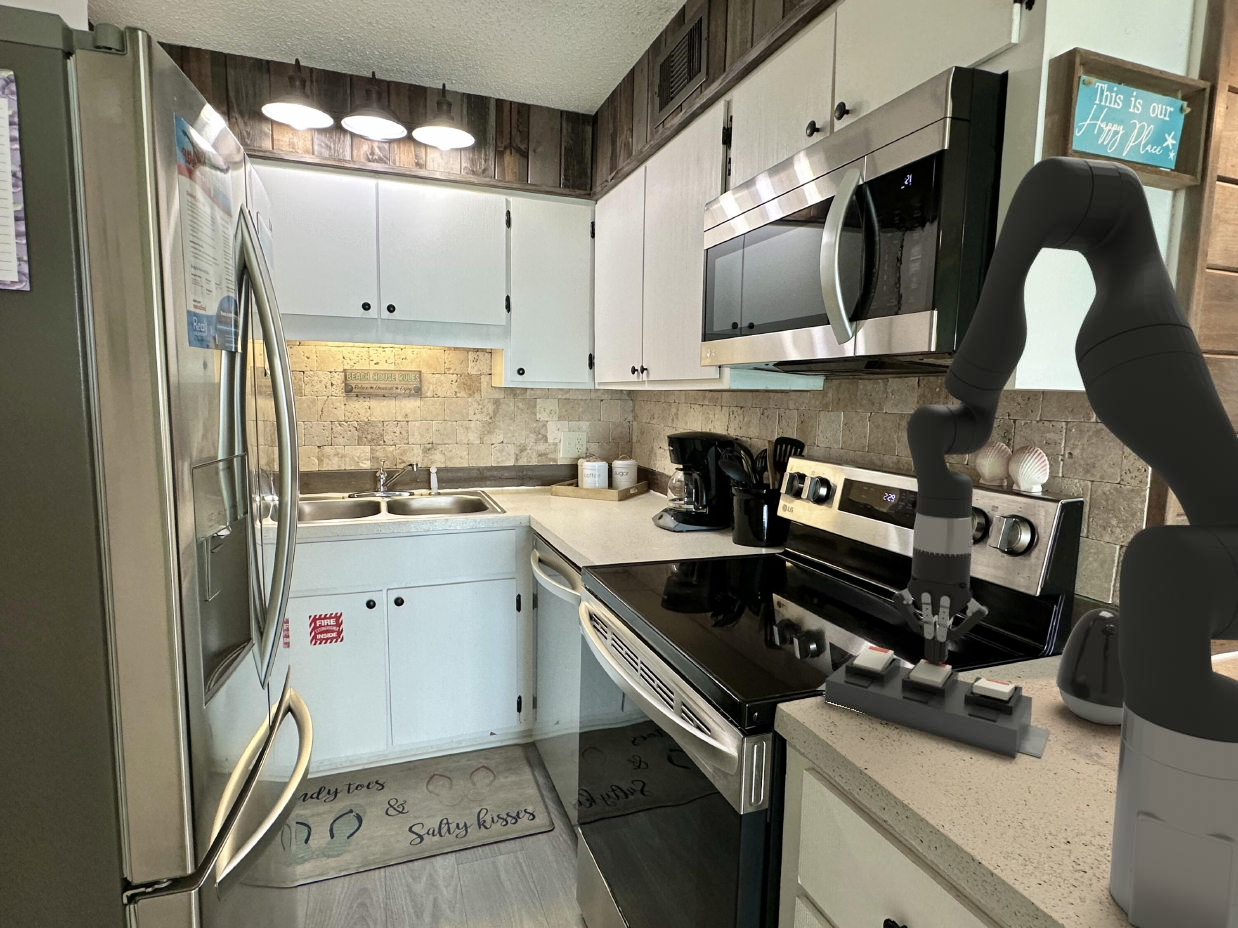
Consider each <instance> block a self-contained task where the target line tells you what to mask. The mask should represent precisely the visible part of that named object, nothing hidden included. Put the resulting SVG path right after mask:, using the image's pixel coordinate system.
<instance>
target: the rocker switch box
mask: <svg viewBox="0 0 1238 928" xmlns="http://www.w3.org/2000/svg"><path fill="white" fill-rule="evenodd" d="M859 654H860V653H858V654H856V655H855V654H854V656H853V657H851V658H850V659H849V660H848V661H847V662H844V664H843V665H842V666H840V667H839V668H838V669H836V670H835V671H834V672H833V673H832V674H830V675H829V676H828V677H827V678H825V682H824V683H823V684H821V685H820V686H819V687H817V688H816V690H825V692H823V694H825V697H824V702H825V701H827V702H831V703H834V704H837V705H841V706H844V707H847V708H850V709H854V710H856V711H859V712H862V713H865V714H868V715H867V716H869V715H871V716H870V717H872V716H874V717H873V718H876V719H878V720H879V719H880V720H883V721H887V722H890V723H894V724H897V725H901V726H903V727H906V728H910V729H914V730H916V731H921V732H924V733H928V734H932V735H935V736H938V737H942V738H945V739H948V740H953V741H955V742H958V743H962V744H965V745H969V746H972V747H977V748H979V749H983V750H986V751H990V752H994V753H997V754H1000V755H1003V756H1007V757H1011V758H1015V759H1016V758H1017V756H1018V753H1021V754H1024V755H1025V754H1026V755H1030V756H1033V757H1037V758H1042V755H1043V752H1044V750H1045V747H1046V744H1047V742H1048V738H1049V735H1050V733H1051V732H1050V730H1049V729H1045V728H1042V727H1038V726H1034V725H1030V724H1031V723H1032V707H1033V697H1031V696H1028V695H1024V694H1023V690H1024V689H1023V686H1018V685H1015V692H1014V694H1013V695H1012V696H1011V697H1010V698H1009V699H1008V700H1004V699H1000V698H996V697H992V696H988V695H984V694H979V693H975V692H973V684H974V683H976V682H977V681H979V680H980V679H982V678H983V677H980V676H976V677H975V679H974V680H973V682H969V681H964V680H960V679H959V672H958V671H954V670H951V674H950V675H949V677H948V678H947V680H946V681H945V683H944V684H943V686H942V687H938V686H934V685H930V684H926V683H922V682H918V681H914V680H910V674H911V672H912V671H913V670H914V669H915V667H916V666H917V665H918V664H919V662H917V663H916V664H915V665H914V666H913V667H912V668H910V667H906V666H902V665H901V661H902V660H901V658H899V657H895V656H894V657H893V659H892V660H891V662H890V663H889V665H888V666H887V667H886V669H885V670H884V671H883V672H878V671H874V670H870V669H866V668H862V667H858V666H854V665H853V662H854V661H855V659H856V658H857V657H858V656H859ZM862 713H861V714H862ZM865 714H864V715H865Z"/></svg>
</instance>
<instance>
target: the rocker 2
mask: <svg viewBox="0 0 1238 928" xmlns="http://www.w3.org/2000/svg"><path fill="white" fill-rule="evenodd" d="M981 678H982V679H980V680H979V681H977V682H976V683H974V684H973V692H975V693H979V694H984V695H988V696H992V697H996V698H1000V699H1004V700H1008V699H1009V698H1010V697H1011V696H1012V695H1013V694H1014V692H1015V686H1016V685H1014V684H1011V683H1009V682H1008V683H1007V682H1004V681H1003V682H1002V681H999V680H995V679H991V678H984V677H981Z"/></svg>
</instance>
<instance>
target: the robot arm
mask: <svg viewBox="0 0 1238 928" xmlns="http://www.w3.org/2000/svg"><path fill="white" fill-rule="evenodd" d="M1155 230H1156V229H1155V226H1154V222H1153V217H1152V214H1151V209H1150V205H1149V201H1148V198H1147V194H1146V191H1145V188H1144V185H1143V183H1142V181H1141V179H1140V177H1139V175H1138V174H1137V173H1136V172H1135V171H1134V169H1133V168H1131V167H1129V166H1127V165H1124V164H1123V163H1119V162H1116V161H1109V160H1099V159H1091V158H1079V157H1070V156H1049V157H1046V158H1043V159H1041V160H1040V161H1037V162H1036V163H1035V164H1034V165H1032V166H1031V167H1030V168H1029V170H1028V171H1027V172H1026V173H1025V174H1024V176H1023V177H1022V179H1021V180H1020V183H1019V184H1018V186H1017V188H1016V189H1015V191H1014V194H1013V196H1012V198H1011V200H1010V203H1009V206H1008V209H1007V212H1006V214H1005V218H1004V220H1003V222H1002V226H1001V228H1000V232H999V235H998V238H997V242H996V245H995V248H994V251H993V254H992V257H991V260H990V263H989V267H988V270H987V274H986V276H985V280H984V283H983V287H982V290H981V294H980V297H979V300H978V303H977V306H976V308H975V311H974V314H973V316H972V320H971V322H970V324H969V326H968V329H967V331H966V333H965V336H964V337H963V339H962V341H961V343H960V345H959V347H958V349H957V351H956V353H955V355H954V357H953V359H952V361H951V363H950V365H949V366H948V369H947V371H946V374H945V377H944V379H943V380H944V381H943V385H944V388H945V390H946V392H947V393H948V394H949V395H950V396H951V397H953V398H954V399H955V400H958V401H960V402H959V404H926V405H921V406H919V407H917V408H916V409H915V410H914V411H913V412H912V414H911V415H910V417H909V419H908V421H907V422H908V423H907V428H906V438H907V444H908V447H909V452H910V456H911V459H912V463H913V468H914V469H913V470H914V474H915V477H916V483H917V484H916V485H917V491H916V492H917V499H916V516H915V521H914V526H913V537H912V539H913V540H912V542H913V543H912V555H911V556H912V560H911V561H912V562H911V577H910V580H909V582H908V583H907V586H906V587H907V588H905V589H903V590H900V591H899V590H898V591H897V592H896V593H894V594H893V595H892V596H891V600H892V602H893V603H894V605H895V606H896V608H897V609H898V610H899V612H900V614H901V615H902V616H903V618H904V620H905V621H906V622H907V624H908V625H909V627H910V628H911V630H912V631H913V632H915V633H919V634H921V635H922V636H923V637H924V648H923V649H924V652H923V653H924V654H923V655H924V660H928V663H929V664H933V665H937V666H940V664H945V662H946V660H948V657H949V642H950V641H952V640H953V641H959V640H960V639H961V638H962V637H963V636H964V635H966V634H967V633H968V632H969V631H970V630H971V629H972V628H974V627H975V626H976V625H977V624H978V623H980V622H981V621H982V620H983V619H984V618H985V617H986V616H987V614H989V608H988V606H985V605H981V604H980V603H979V602H977V601H976V599H974V592H973V590H972V589H971V585H970V584H971V582H970V581H971V563H972V549H973V546H974V545H973V544H974V540H973V525H972V512H973V511H972V510H973V495H974V493H973V492H974V485H973V484H974V483H973V480H972V479H971V477H970V476H969V475H967V474H965V473H962V472H958V471H953V470H950V469H949V467H948V465H947V461H946V457H945V456H951V455H952V456H955V455H956V456H958V455H959V456H960V455H961V456H964V455H972V454H975V453H977V452H978V451H980V450H982V448H984V447H985V445H987V444H988V442H989V440H990V439H991V437H992V434H993V431H994V425H995V420H996V415H997V411H998V409H999V403H1000V398H1001V394H1002V391H1003V390H1004V388H1005V387H1006V385H1007V383H1008V381H1009V379H1010V378H1011V376H1012V375H1013V373H1014V371H1015V369H1016V367H1017V366H1018V364H1019V362H1020V360H1021V358H1022V356H1023V354H1024V351H1025V348H1026V344H1027V338H1028V337H1027V336H1028V324H1027V323H1028V322H1027V315H1026V314H1027V313H1026V306H1025V288H1026V287H1025V285H1026V281H1027V277H1028V275H1029V272H1030V269H1031V267H1032V266H1033V264H1034V262H1035V260H1036V259H1037V257H1038V255H1039V254H1040V252H1041V251H1042V250H1043V249H1054V250H1063V251H1074V252H1078V253H1079V254H1080V255H1082V256H1083V257H1084V259H1085V260H1086V262H1087V264H1088V266H1089V268H1090V271H1091V274H1092V277H1093V283H1094V284H1095V286H1094V287H1095V295H1094V298H1093V300H1092V302H1091V304H1090V306H1089V308H1088V310H1087V313H1086V314H1085V317H1084V319H1083V321H1082V323H1081V325H1080V328H1079V330H1078V333H1077V337H1076V339H1075V344H1074V354H1075V362H1076V365H1077V369H1078V372H1079V375H1080V378H1081V381H1082V384H1083V388H1084V390H1085V393H1086V396H1087V400H1088V401H1089V404H1090V407H1091V409H1092V411H1093V413H1094V414H1095V416H1096V417H1097V419H1098V420H1099V421H1100V422H1101V424H1102V425H1103V426H1104V427H1105V428H1106V429H1107V430H1109V432H1110V433H1111V434H1112V435H1113V436H1115V437H1116V438H1117V439H1118V440H1119V441H1120V442H1121V443H1122V444H1123V445H1124V446H1125V447H1127V448H1128V449H1129V450H1130V451H1131V452H1133V454H1134V455H1136V456H1137V457H1138V458H1139V459H1141V461H1143V463H1145V464H1146V465H1148V466H1149V467H1150V468H1151V469H1152V470H1153V471H1154V472H1155V473H1156V474H1157V475H1158V476H1160V478H1161V479H1162V480H1163V481H1164V482H1165V484H1166V485H1167V486H1168V487H1169V489H1170V490H1171V492H1172V493H1173V495H1174V496H1175V497H1176V499H1177V501H1178V503H1179V504H1180V507H1181V509H1182V511H1183V513H1184V515H1185V517H1186V519H1187V522H1188V524H1158V525H1150V526H1146V527H1145V528H1142V529H1140V530H1138V532H1136V533H1135V534H1134V535H1133V536H1132V537H1131V539H1130V540H1129V541H1128V544H1127V545H1126V547H1125V550H1124V552H1123V555H1122V560H1121V563H1120V569H1119V570H1120V572H1119V583H1118V584H1119V585H1118V613H1119V645H1118V654H1119V664H1120V669H1121V673H1122V677H1123V682H1124V701H1123V713H1122V724H1121V727H1120V738H1119V748H1118V749H1119V752H1118V763H1117V765H1118V766H1117V776H1116V789H1115V790H1116V791H1115V802H1114V803H1115V804H1114V814H1113V815H1114V816H1113V817H1114V818H1113V828H1112V839H1111V841H1112V842H1111V844H1112V845H1111V859H1110V870H1109V871H1110V873H1109V885H1108V888H1109V890H1110V891H1109V892H1110V894H1111V896H1112V898H1113V899H1114V900H1115V902H1116V904H1118V906H1119V907H1120V908H1122V910H1123V911H1124V912H1125V913H1126V914H1127V922H1128V923H1129V924H1131V925H1133V926H1136V927H1138V928H1238V679H1235V678H1233V677H1231V676H1227V675H1225V674H1223V673H1219V672H1216V671H1214V670H1213V663H1212V641H1238V435H1237V433H1236V430H1235V428H1234V425H1233V423H1232V422H1231V420H1230V417H1229V416H1228V413H1227V411H1226V409H1225V407H1224V405H1223V403H1222V400H1221V399H1220V396H1219V394H1218V391H1217V388H1216V385H1215V384H1214V380H1213V378H1212V374H1211V372H1210V369H1209V367H1208V364H1207V362H1206V359H1205V356H1204V354H1203V352H1202V350H1201V347H1200V344H1199V342H1198V340H1197V338H1196V335H1195V333H1194V331H1193V329H1192V327H1191V325H1190V323H1189V320H1188V319H1187V317H1186V315H1185V313H1184V311H1183V308H1182V306H1181V303H1180V301H1179V298H1178V295H1177V293H1176V291H1175V290H1176V289H1175V288H1174V285H1173V283H1172V280H1171V276H1170V275H1169V271H1168V269H1167V267H1166V264H1165V262H1164V261H1165V260H1164V259H1163V255H1162V252H1161V249H1160V246H1159V242H1158V238H1157V233H1156V231H1155ZM913 600H914V602H915V604H916V605H917V607H918V609H919V610H920V611H921V612H922V617H921V616H920V613H919V612H918V611H917V609H916V608H915V606H914V605H913ZM966 606H967V607H968V608H967V610H966V616H967V618H966V619H964V620H963V621H962V622H961V623H960V624H959V625H957V626H956V627H953V628H952V623H953V621H954V617H956V616H957V615H958V614H959V613H960V612H961V611H962V610H963V609H964V608H965V607H966Z"/></svg>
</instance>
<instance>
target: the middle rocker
mask: <svg viewBox="0 0 1238 928" xmlns="http://www.w3.org/2000/svg"><path fill="white" fill-rule="evenodd" d="M918 663H919V664H918V665H917V666H916V667H915V669H914V670H913V671H912V672H911V674H910V680H914V681H918V682H922V683H926V684H930V685H934V686H938V687H942V686H943V684H944V683H945V681H946V680H947V678H948V677H949V675H950V674H951V671H952V665H949V664H945V663H942V664H940V666H937V665H933V664H929V663H928V659H923V658H922V659H920V661H919V662H918Z"/></svg>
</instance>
